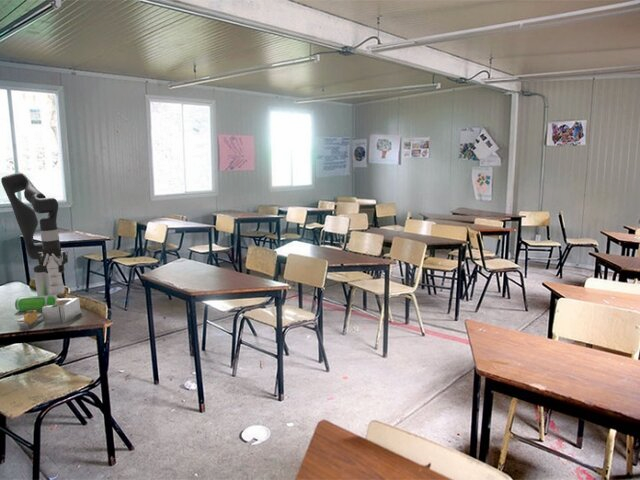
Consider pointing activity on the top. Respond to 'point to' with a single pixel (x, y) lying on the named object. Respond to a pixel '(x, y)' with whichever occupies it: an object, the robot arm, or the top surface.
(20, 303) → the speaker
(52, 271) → the plastic bottle
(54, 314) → the small white box
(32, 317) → the orange rounded block
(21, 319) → the mat
